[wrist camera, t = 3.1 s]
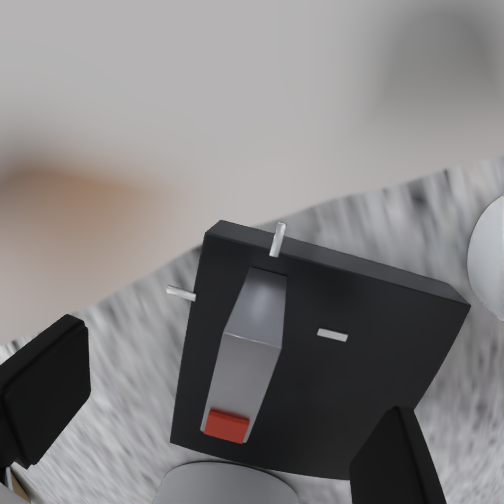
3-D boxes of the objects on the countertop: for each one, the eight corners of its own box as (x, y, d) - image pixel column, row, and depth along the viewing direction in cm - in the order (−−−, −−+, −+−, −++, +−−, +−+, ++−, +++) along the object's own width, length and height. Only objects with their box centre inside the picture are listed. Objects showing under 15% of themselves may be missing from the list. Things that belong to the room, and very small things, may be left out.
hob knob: (250, 266, 14) (221, 336, 8) (287, 276, 14) (281, 352, 8) (229, 347, 15) (198, 435, 9) (262, 356, 15) (244, 448, 9)
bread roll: (13, 487, 36) (-5, 511, 28) (-22, 439, 32) (-46, 464, 24) (46, 508, 35) (29, 534, 27) (10, 461, 31) (-14, 491, 23)
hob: (203, 190, 16) (182, 197, 13) (456, 263, 15) (483, 284, 12) (166, 408, 21) (151, 438, 18) (355, 451, 20) (359, 483, 17)
